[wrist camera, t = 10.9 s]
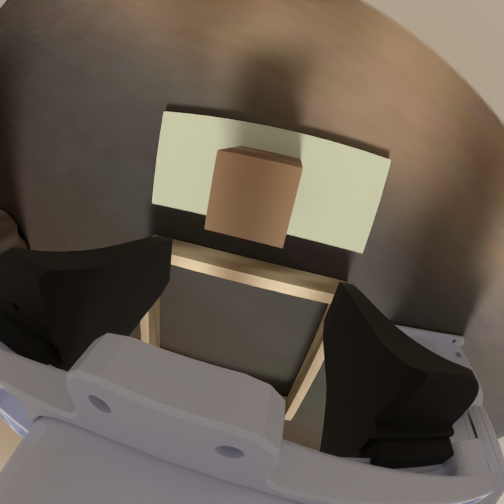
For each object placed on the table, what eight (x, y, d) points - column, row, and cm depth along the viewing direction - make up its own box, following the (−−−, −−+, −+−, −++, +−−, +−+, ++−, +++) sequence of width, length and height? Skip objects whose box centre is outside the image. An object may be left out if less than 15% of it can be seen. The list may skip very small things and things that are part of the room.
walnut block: (300, 158, 18) (302, 168, 12) (287, 215, 20) (282, 248, 14) (241, 145, 18) (217, 149, 13) (230, 202, 20) (204, 229, 14)
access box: (347, 281, 21) (351, 298, 19) (292, 402, 28) (290, 420, 25) (154, 234, 22) (139, 245, 20) (153, 365, 29) (144, 380, 26)
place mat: (389, 159, 17) (391, 159, 17) (361, 250, 20) (362, 253, 20) (166, 111, 18) (163, 111, 18) (154, 201, 21) (152, 203, 21)
